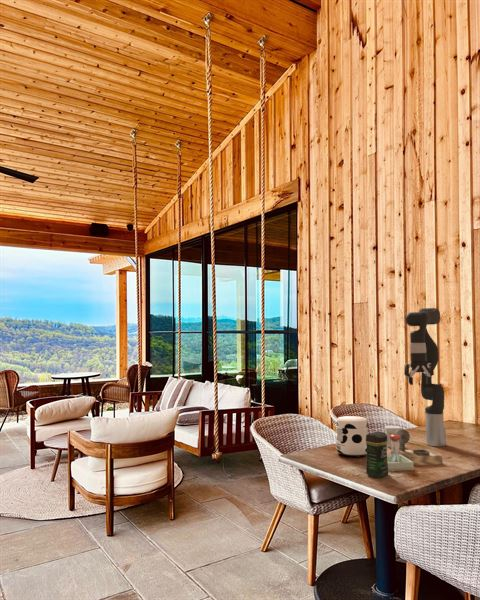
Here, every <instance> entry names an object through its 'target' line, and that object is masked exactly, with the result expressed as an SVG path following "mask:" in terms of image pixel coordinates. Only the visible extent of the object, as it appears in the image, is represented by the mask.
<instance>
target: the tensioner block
mask: <svg viewBox="0 0 480 600" xmlns="http://www.w3.org/2000/svg"><path fill="white" fill-rule="evenodd" d="M395 434H396V435H400V439H399V443H400V448H399V455H402V456H404V457H406V458H407V459H409V460H411V461H412V462H413V466H427V465H430V466H431V465H443V455H442V454H441V453H439V452H436V451H435V450H432V449H430V448H419V449H418V448H416V449H406V445H405V444H407V443H408V442H409V441H410V439H411V435H410V433H409V431H408V430H407V429H404V428H401V429H398V430H397V431H396V432H395Z"/></svg>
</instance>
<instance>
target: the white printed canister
mask: <svg viewBox="0 0 480 600" xmlns="http://www.w3.org/2000/svg"><path fill="white" fill-rule="evenodd" d="M368 425H369V423H368V418H366V417H362V416H355V415H354V416H353V415H346V416H345V415H344V416H339V417H337V420H336V431H337V432H336V433H337V434H336V438H335V439H336V440H335V448H336V451H337V452H338V454H340V455H342V456H345V457H354V458H356V457H357V458H358V457H365V456H367V445H366V435H367V434H369V426H368Z"/></svg>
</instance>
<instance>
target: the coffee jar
mask: <svg viewBox="0 0 480 600" xmlns="http://www.w3.org/2000/svg"><path fill="white" fill-rule="evenodd" d="M366 445H367V455H366V464H365V465H366V466H365V467H366V469H365V470H366V473H365V474H366V475H367V476H369V477H370V478H377V479H378V478H380V479H381V478H384V477H386V476H388V475H389V471H388V462H387V456H388V452H387V451H388V450H387V449H388V447H387V435H386V434H385V431H384V432H383V431H378V430H377V431H375V432H371V433H369V432H368V434H367V435H366Z"/></svg>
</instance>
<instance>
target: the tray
mask: <svg viewBox="0 0 480 600" xmlns="http://www.w3.org/2000/svg"><path fill="white" fill-rule="evenodd" d="M399 461H400V462H391V455H387V462H388V472H391V471H392V472H395V471H412V470H413V471H414V466H415V465H413V462H412V461H411V460H409V459H407V458H406V457H404V456H402V455H399Z"/></svg>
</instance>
